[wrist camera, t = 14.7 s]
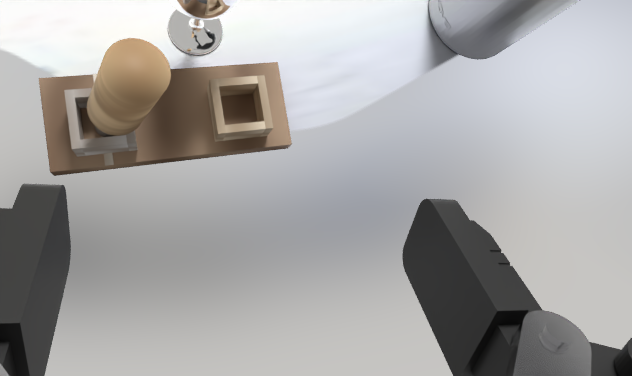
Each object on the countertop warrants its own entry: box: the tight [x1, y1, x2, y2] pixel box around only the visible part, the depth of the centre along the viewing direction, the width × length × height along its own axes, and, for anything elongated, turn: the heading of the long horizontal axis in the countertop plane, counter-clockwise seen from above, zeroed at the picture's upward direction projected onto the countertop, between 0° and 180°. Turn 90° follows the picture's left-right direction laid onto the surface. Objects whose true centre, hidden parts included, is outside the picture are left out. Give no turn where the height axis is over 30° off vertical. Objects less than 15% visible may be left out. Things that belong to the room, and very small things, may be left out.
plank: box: [39, 62, 292, 176], centre depth 41 cm, size 18×7×4 cm, turn 100°
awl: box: [87, 38, 171, 137], centre depth 34 cm, size 4×4×12 cm
